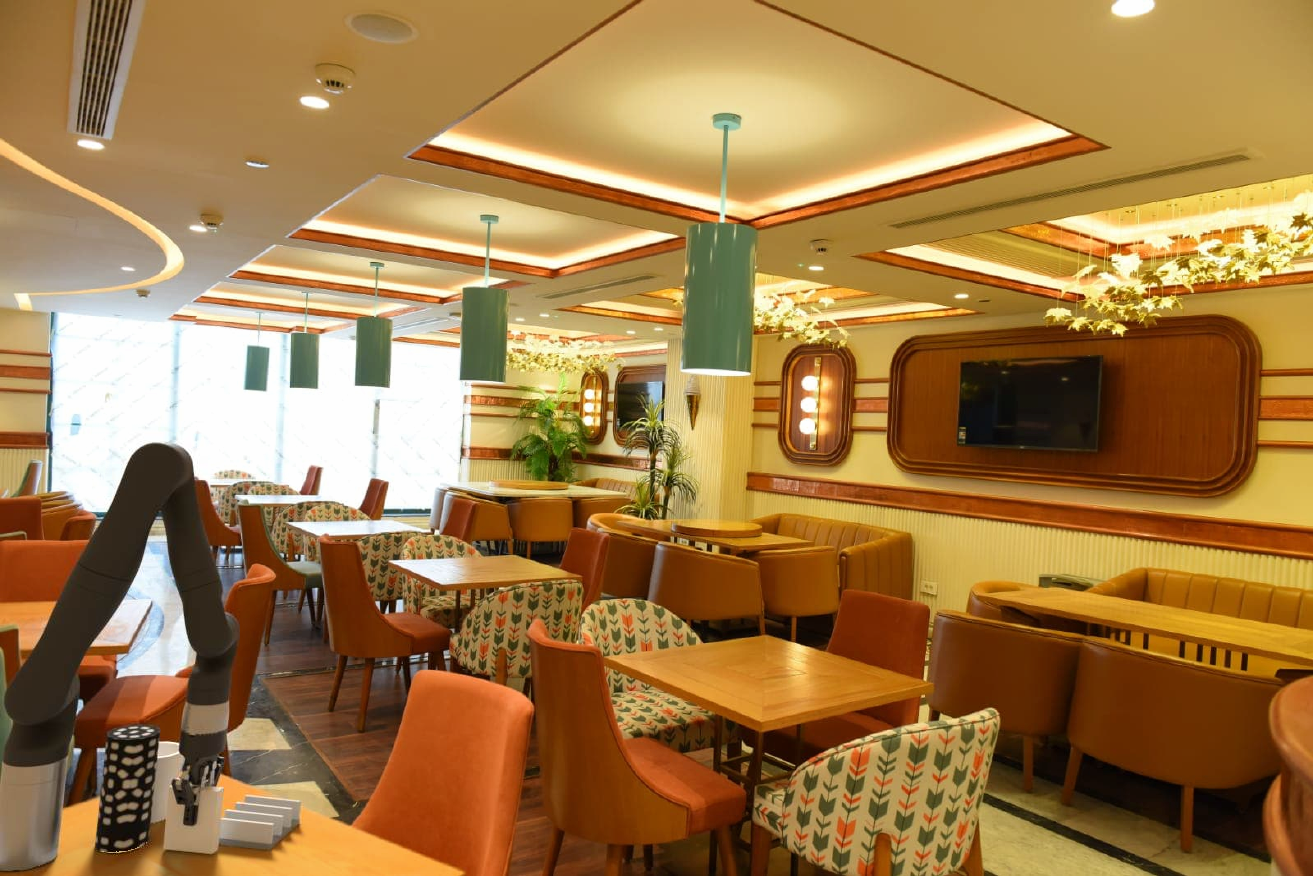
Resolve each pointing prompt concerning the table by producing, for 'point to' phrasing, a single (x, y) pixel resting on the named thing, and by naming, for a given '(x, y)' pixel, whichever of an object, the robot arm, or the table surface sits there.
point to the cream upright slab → (203, 832)
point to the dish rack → (259, 822)
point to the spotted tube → (127, 788)
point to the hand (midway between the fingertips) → (193, 821)
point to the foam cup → (165, 777)
